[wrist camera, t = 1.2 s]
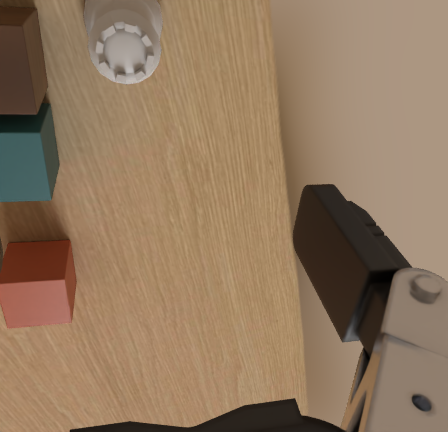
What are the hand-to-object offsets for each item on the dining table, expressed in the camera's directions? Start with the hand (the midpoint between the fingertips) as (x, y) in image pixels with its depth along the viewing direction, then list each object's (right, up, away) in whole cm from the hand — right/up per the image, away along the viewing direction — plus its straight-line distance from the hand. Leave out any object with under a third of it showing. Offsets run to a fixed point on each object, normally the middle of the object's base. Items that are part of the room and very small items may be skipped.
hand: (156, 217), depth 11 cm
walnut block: (-11, +10, +13) cm, 20 cm away
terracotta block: (-13, -4, +23) cm, 26 cm away
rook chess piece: (-4, +12, +14) cm, 19 cm away
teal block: (-12, +5, +17) cm, 21 cm away
